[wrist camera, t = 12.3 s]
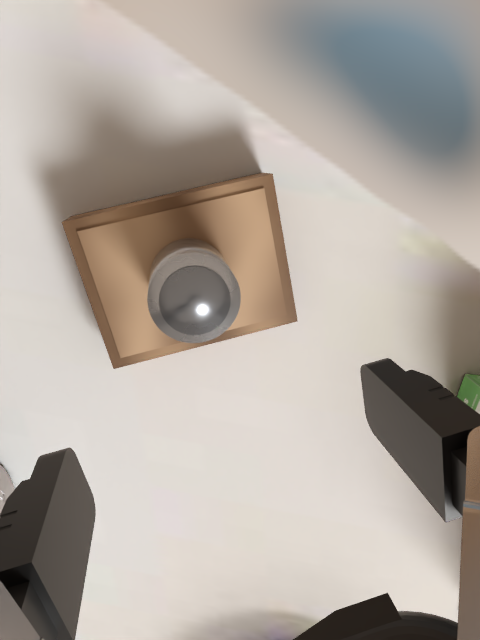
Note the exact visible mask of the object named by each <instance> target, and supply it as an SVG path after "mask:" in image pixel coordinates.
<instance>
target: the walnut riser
mask: <svg viewBox="0 0 480 640" xmlns="http://www.w3.org/2000/svg"><path fill="white" fill-rule="evenodd" d="M62 224H63V227H64V230H65V233H66V236H67V239H68V241H69V244H70V247H71V250H72V253H73V256H74V258H75V261H76V264H77V267H78V270H79V272H80V275H81V278H82V281H83V284H84V287H85V289H86V292H87V295H88V298H89V301H90V303H91V306H92V309H93V312H94V315H95V318H96V320H97V323H98V326H99V329H100V332H101V335H102V337H103V340H104V343H105V346H106V349H107V351H108V354H109V357H110V360H111V363H112V366H113V368H114V369H115V368H119V367H123V366H127V365H131V364H135V363H138V362H142V361H146V360H150V359H154V358H158V357H162V356H165V355H169V354H173V353H177V352H181V351H185V350H188V349H192V348H196V347H200V346H204V345H208V344H212V343H215V342H219V341H223V340H227V339H231V338H235V337H238V336H242V335H246V334H250V333H254V332H258V331H262V330H265V329H269V328H273V327H277V326H281V325H285V324H288V323H292V322H296V321H297V315H296V309H295V303H294V298H293V292H292V286H291V280H290V274H289V268H288V262H287V256H286V250H285V244H284V238H283V233H282V227H281V221H280V215H279V209H278V203H277V197H276V191H275V185H274V179H273V174H269V173H258V174H254V175H250V176H245V177H241V178H236V179H232V180H228V181H223V182H219V183H215V184H210V185H206V186H202V187H197V188H193V189H188V190H184V191H180V192H175V193H171V194H167V195H162V196H158V197H153V198H149V199H145V200H140V201H136V202H132V203H127V204H123V205H119V206H114V207H110V208H105V209H101V210H97V211H92V212H88V213H84V214H79V215H75V216H71V217H69V218H68V219H66V220H65V221H63V222H62ZM185 238H192V239H199V240H202V241H205V242H207V243H209V244H211V245H212V246H213V247H215V248H216V249H217V250H218V251H219V252H220V254H221V255H222V257H223V258H224V260H225V261H226V263H227V265H228V266H229V268H230V269H231V271H232V273H233V274H234V276H235V277H236V279H237V282H238V284H239V288H240V293H241V302H240V308H239V312H238V314H237V317H236V318H235V320H234V322H233V323H232V325H231V326H230V327H229V328H228V329H227V330H226V331H225V332H224V333H223V334H221V335H220V336H218V337H216V338H214V339H212V340H209V341H206V342H201V343H186V342H181V341H177V340H175V339H173V338H171V337H169V336H167V335H166V334H165V333H163V332H162V331H161V330H160V329H159V328H158V327H157V326H156V324H155V323H154V321H153V319H152V318H151V315H150V313H149V309H148V302H147V296H148V287H149V278H150V271H151V266H152V263H153V261H154V259H155V257H156V255H157V254H158V253H159V252H160V251H161V249H163V248H164V247H165V246H166V245H168V244H169V243H171V242H174V241H176V240H179V239H185Z"/></svg>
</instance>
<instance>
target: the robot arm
mask: <svg viewBox="0 0 480 640" xmlns="http://www.w3.org/2000/svg"><path fill="white" fill-rule="evenodd" d="M361 381H362V389H363V397H364V406H365V413H366V418H367V421H368V424H369V426H370V428H371V430H372V432H373V434H374V435H375V436H376V437H377V439H378V440H379V441H380V442H381V444H382V445H383V446H384V447H385V448H386V450H387V451H388V452H389V453H390V455H391V456H392V457H393V458H394V460H395V461H396V462H397V463H398V464H399V466H400V467H401V468H402V469H403V471H404V472H405V473H406V474H407V475H408V477H409V478H410V479H411V480H412V482H413V483H414V484H415V485H416V487H417V488H418V489H419V490H420V491H421V493H422V494H423V495H424V496H425V498H426V499H427V500H428V501H429V503H430V504H431V505H432V506H433V507H434V509H435V510H436V511H437V512H438V514H439V515H440V516H441V517H442V518H443V520H444V521H445V522H449V521H452V520H455V519H458V518H461V517H463V520H462V542H461V565H460V588H459V611H458V623H456V622H454V621H452V620H449V619H446V618H443V617H439V616H436V615H432V614H427V613H422V612H410V611H397V609H396V607H395V606H394V604H393V602H392V600H391V598H390V596H389V595H388V593H386V594H383V595H380V596H377V597H374V598H371V599H368V600H365V601H362V602H360V603H357V604H354V605H351V606H348V607H345V608H342V609H339V610H336V611H334V612H333V613H331V614H330V615H328V616H327V617H326V618H324V619H323V620H321V621H320V622H318V623H317V624H315V625H314V626H312V627H311V628H309V629H308V630H307V631H305V632H304V633H302V634H301V635H299V636H298V637H296V638H295V639H293V640H480V414H479V413H477V412H476V411H475V410H473V409H472V408H471V407H470V406H468V405H467V404H466V403H464V402H463V401H462V400H460V399H459V398H458V397H457V396H455V397H454V395H453V393H451V392H450V391H449V390H447V389H446V388H443V386H442V385H441V384H440V383H438V382H437V381H436V380H434V379H433V378H432V377H430V376H428V375H425V374H423V373H420V372H417V371H414V370H409V371H406V372H405V371H404V370H403V369H402V368H401V367H399V366H398V365H397V364H396V363H395V362H393V361H392V360H391V359H389V358H386V359H382V360H379V361H375V362H372V363H368V364H365V365H362V366H361ZM94 522H95V503H94V498H93V494H92V492H91V489H90V487H89V485H88V482H87V480H86V478H85V475H84V473H83V471H82V468H81V466H80V464H79V461H78V459H77V457H76V454H75V452H74V451H73V450H72V449H71V448H66V449H63V450H59V451H56V452H52V453H49V454H45V455H42V456H40V457H39V458H38V460H37V463H36V465H35V468H34V470H33V473H32V475H31V478H30V479H28V480H25V481H22V482H21V483H20V484H19V485H18V486H17V488H16V489H15V490H14V486H13V483H12V480H11V478H10V476H9V475H8V473H7V472H6V470H5V469H4V468H3V467H2V466H1V465H0V640H75V635H76V629H77V623H78V617H79V611H80V605H81V600H82V594H83V588H84V582H85V576H86V570H87V564H88V558H89V552H90V546H91V540H92V534H93V528H94Z"/></svg>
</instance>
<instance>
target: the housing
mask: <svg viewBox="0 0 480 640" xmlns="http://www.w3.org/2000/svg"><path fill="white" fill-rule="evenodd" d="M147 302H148V309H149V313H150V315H151V318H152V319H153V321H154V323H155V324H156V326H157V327H158V328H159V329H160V330H161V331H162V332H163V333H165V334H166V335H167V336H169V337H171V338H173V339H175V340H177V341H181V342H186V343H201V342H206V341H209V340H212V339H214V338H216V337H218V336H220V335H221V334H223V333H224V332H225V331H226V330H227V329H228V328H229V327H230V326H231V325H232V323H233V322H234V320H235V318H236V317H237V314H238V312H239V308H240V302H241V293H240V288H239V284H238V282H237V279H236V277H235V276H234V274H233V273H232V271H231V269H230V268H229V266H228V265H227V263H226V261H225V260H224V258H223V257H222V255H221V254H220V252H219V251H218V250H217V249H216V248H215V247H213V246H212V245H211V244H209V243H207V242H205V241H202V240H199V239H192V238H185V239H179V240H176V241H174V242H171V243H169V244H168V245H166V246H165V247H164V248H163V249H161V251H160V252H159V253H158V254H157V255H156V257H155V259H154V261H153V263H152V266H151V271H150V278H149V287H148V296H147Z"/></svg>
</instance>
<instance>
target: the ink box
mask: <svg viewBox="0 0 480 640" xmlns="http://www.w3.org/2000/svg"><path fill="white" fill-rule="evenodd" d="M457 397H458V398H459V399H460V400H462V401H463V402H464V403H466V404H467V405H468V406H470V407H471V408H472V409H473V410H475V411H476V412H477V413H479V414H480V375H472V374H465V376H464V379H463V381H462V384H461V387H460V389H459V392H458V395H457Z"/></svg>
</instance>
